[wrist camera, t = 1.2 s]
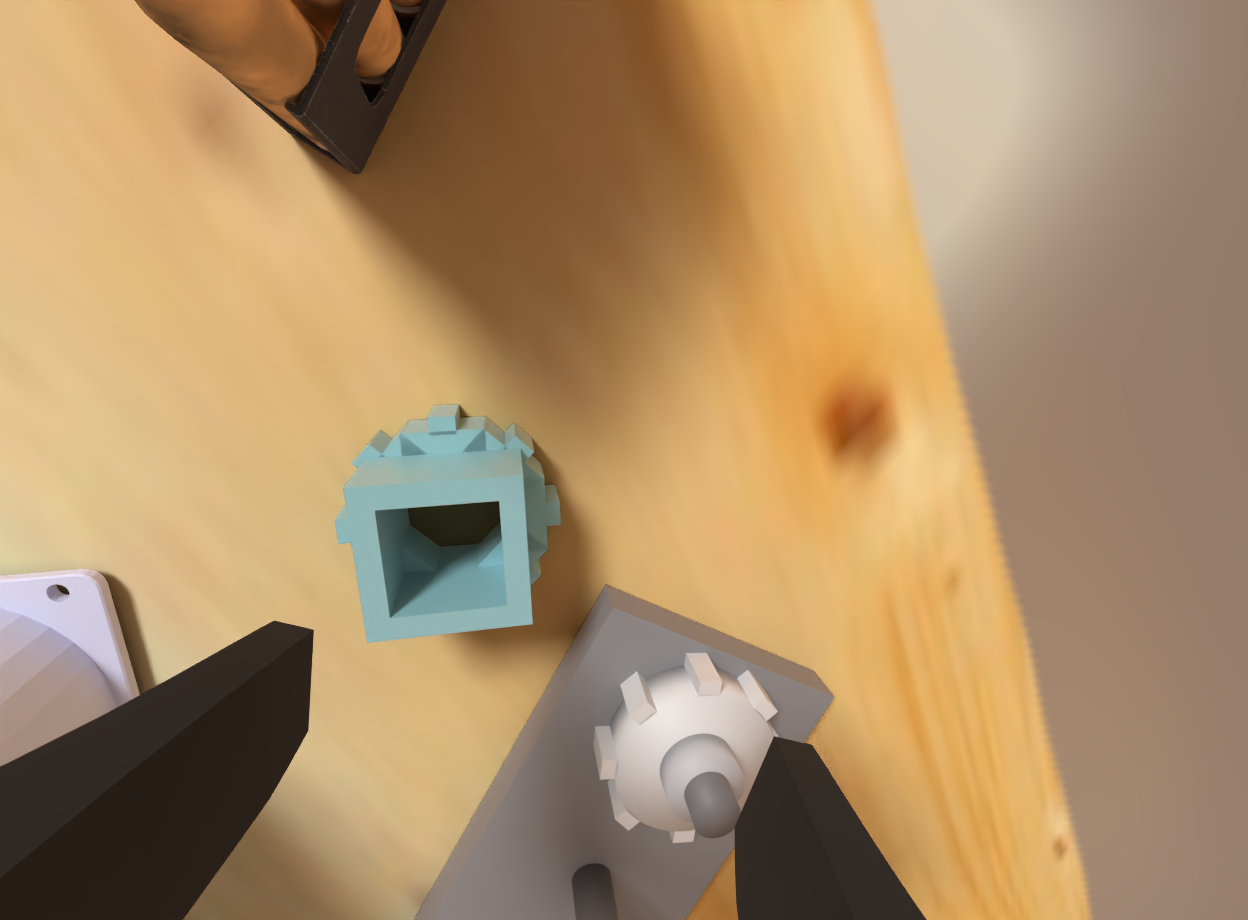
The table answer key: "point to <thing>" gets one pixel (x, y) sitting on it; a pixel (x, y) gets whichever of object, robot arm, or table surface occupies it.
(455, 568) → the teal gear
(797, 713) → the gear board
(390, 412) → the table surface
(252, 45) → the ammunition clip
